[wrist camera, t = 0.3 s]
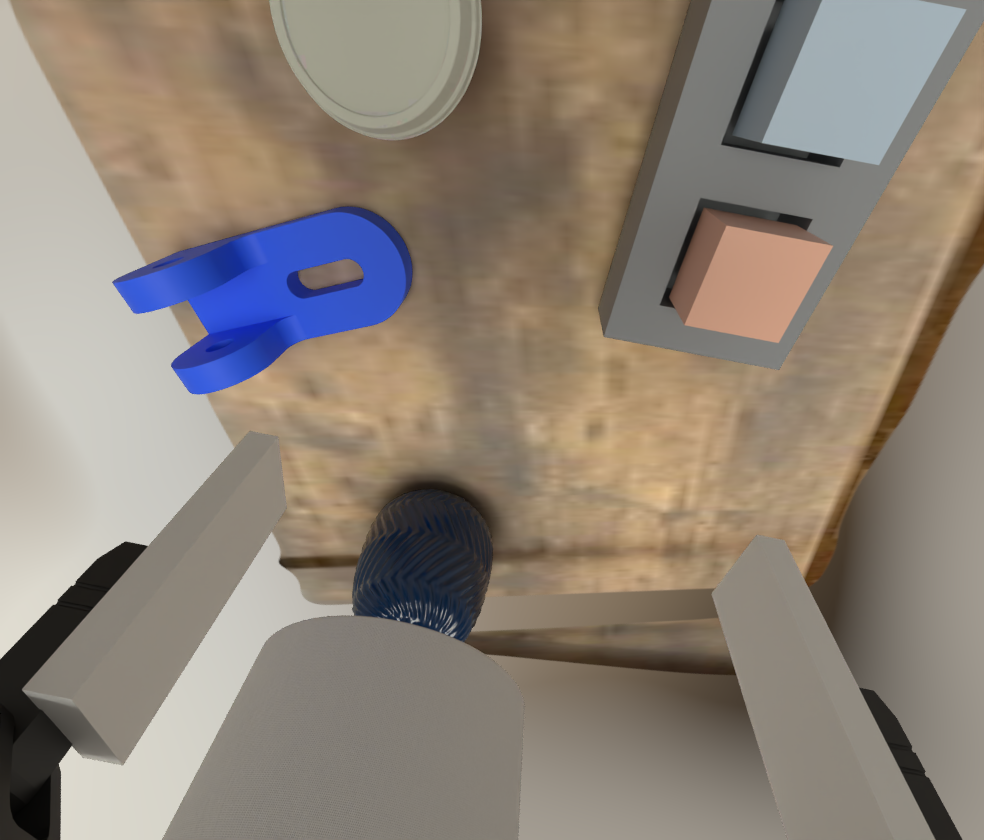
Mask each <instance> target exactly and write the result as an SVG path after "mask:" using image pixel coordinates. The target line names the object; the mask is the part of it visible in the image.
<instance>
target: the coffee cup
mask: <svg viewBox="0 0 984 840" xmlns="http://www.w3.org/2000/svg"><path fill="white" fill-rule="evenodd" d="M269 3H270V9H271V15H272V19H273V24H274V28H275V31H276V34H277V37H278V40H279V43H280V46H281V48H282V51H283V53H284V55H285V57H286V59H287V61H288V63H289V65H290V67H291V69H292V70H293V72H294V74H295V75H296V77H297V78H298V80H299V81H300V83H301V84H302V85H303V87H304V88H305V90H306V91H307V92H308V94H309V95H310V96H311V97H312V99H313V100H314V101H315V102H316V103H317V104H318V105H319V106H320V107H321V108H322V109H323V110H324V111H325V112H326V113H327V114H328V115H330V116H331V117H332V118H333V119H335V120H336V121H337V122H339V123H340V124H342V125H344V126H345V127H347V128H349V129H351V130H353V131H355V132H358V133H360V134H363V135H365V136H368V137H372V138H376V139H382V140H403V139H409V138H413V137H416V136H419V135H421V134H423V133H426V132H427V131H429V130H431V129H433V128H434V127H436V126H437V125H438V124H440V123H441V122H442V121H443V120H444V119H445V118H446V117H447V116H448V115H449V114H450V113H451V112H452V111H453V110H454V109H455V107H456V106H457V105H458V103H459V102H460V100H461V99H462V97H463V95H464V94H465V92H466V90H467V88H468V86H469V83H470V81H471V79H472V76H473V73H474V70H475V67H476V65H477V61H478V57H479V51H480V43H481V32H482V9H481V0H269Z"/></svg>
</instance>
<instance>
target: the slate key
mask: <svg viewBox="0 0 984 840" xmlns="http://www.w3.org/2000/svg"><path fill="white" fill-rule="evenodd" d="M966 10H967V9H962V8H956V7H951V6H946V5H941V4H935V3H930V2H925V1H920V0H785V1H784V2H783V5H782V7H781V10H780V13H779V15H778V18H777V20H776V23H775V25H774V28H773V31H772V33H771V36H770V38H769V41H768V43H767V46H766V49H765V51H764V54H763V56H762V59H761V61H760V64H759V67H758V69H757V72H756V74H755V77H754V79H753V82H752V85H751V87H750V90H749V92H748V95H747V97H746V100H745V103H744V105H743V108H742V110H741V113H740V115H739V118H738V121H737V123H736V126H735V128H734V131H733V133H732V135H733V136H737V137H741V138H745V139H748V140H752V141H756V142H760V143H765V144H770V145H775V146H780V147H786V148H791V149H796V150H801V151H807V152H812V153H817V154H823V155H828V156H833V157H838V158H844V159H849V160H854V161H859V162H865V163H870V164H875V165H879V164H880V162H881V160H882V159H883V157H884V155H885V153H886V152H887V150H888V148H889V146H890V144H891V143H892V141H893V139H894V137H895V136H896V134H897V132H898V130H899V129H900V127H901V125H902V123H903V121H904V120H905V118H906V116H907V114H908V113H909V111H910V109H911V107H912V105H913V104H914V102H915V100H916V98H917V97H918V95H919V93H920V91H921V90H922V88H923V86H924V84H925V82H926V81H927V79H928V77H929V75H930V74H931V72H932V70H933V68H934V66H935V65H936V63H937V61H938V59H939V58H940V56H941V54H942V52H943V50H944V49H945V47H946V45H947V43H948V42H949V40H950V38H951V36H952V35H953V33H954V31H955V29H956V27H957V26H958V24H959V22H960V20H961V19H962V17H963V15H964V13H965V11H966Z"/></svg>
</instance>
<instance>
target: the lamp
mask: <svg viewBox="0 0 984 840" xmlns="http://www.w3.org/2000/svg"><path fill="white" fill-rule="evenodd" d="M491 538H492V536H491V534H490V533H489V527H488V526H487V525H486V520H485V519H482V517H481V514H480V513H478V512H477V511H476V508H475V507H472V506H471V504H470V503H469V502H467V501H465V500H464V498H462V497H457V496H456V495H455V494H452V493H449V492H446V491H440V490H431V489H423V490H415V491H412V492H408V493H405V494H403V495H401V496H399V497H397V498H395V499H393V500H392V501H390V502H389V503H388V504H387V505H386V506H385V507H384V508H383V509H382V510H381V511H380V513H379V514H378V516H377V518H376V520H375V521H374V522H373V524H372V526H371V530H370V531H369V533H368V534H367V537H366V542H365V543H364V545H363V547H362V553H361V555H360V557H359V560H358V564H357V568H356V572H355V576H354V583H353V592H352V598H353V608H352V610H353V612H354V616H327V617H319V618H313V619H308V620H304V621H300V622H297V623H294V624H291V625H289V626H287V627H284V628H282V629H281V630H279V631H277V632H276V633H275V634H273V635H272V636H271V637H270V638H269V639H268V640H267V641H266V642H265V644H264V646H263V647H262V649H261V651H260V653H259V655H258V657H257V659H256V661H255V663H254V665H253V666H252V668H251V670H250V672H249V674H248V676H247V678H246V680H245V682H244V684H243V686H242V687H241V689H240V692H239V693H238V695H237V697H236V699H235V701H234V703H233V705H232V707H231V709H230V710H229V712H228V714H227V716H226V718H225V720H224V722H223V724H222V726H221V728H220V730H219V731H218V734H217V735H216V738H215V739H214V741H213V743H212V745H211V747H210V749H209V751H208V753H207V754H206V757H205V758H204V760H203V762H202V764H201V766H200V768H199V770H198V772H197V774H196V775H195V777H194V780H193V781H192V783H191V785H190V787H189V789H188V791H187V793H186V795H185V797H184V798H183V800H182V802H181V804H180V806H179V808H178V810H177V812H176V814H175V816H174V818H173V820H172V821H171V823H170V825H169V827H168V829H167V831H166V833H165V835H164V837H163V839H162V840H518V833H519V812H520V791H521V771H522V750H523V728H524V700H523V695H522V693H521V691H520V688H519V687H518V685H517V684H516V682H515V681H514V679H513V678H512V677H511V676H510V675H509V674H508V673H507V672H506V671H505V670H504V669H503V668H502V667H501V666H500V665H499V664H497V663H496V662H495V661H494V660H492V659H491V658H490V657H488V656H487V655H485V654H484V653H482V652H480V651H479V650H477V649H475V648H473V647H472V646H470V645H468V644H466V643H464V641H465V640H466V639H467V637H468V635H469V633H470V632H471V630H472V628H473V627H474V626H475V623H476V620H477V617H478V616H479V614H480V611H481V607H482V605H483V603H484V600H485V594H486V592H487V587H488V584H489V580H490V574H491V569H492V560H493V557H492V556H493V546H492V541H491Z"/></svg>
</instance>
